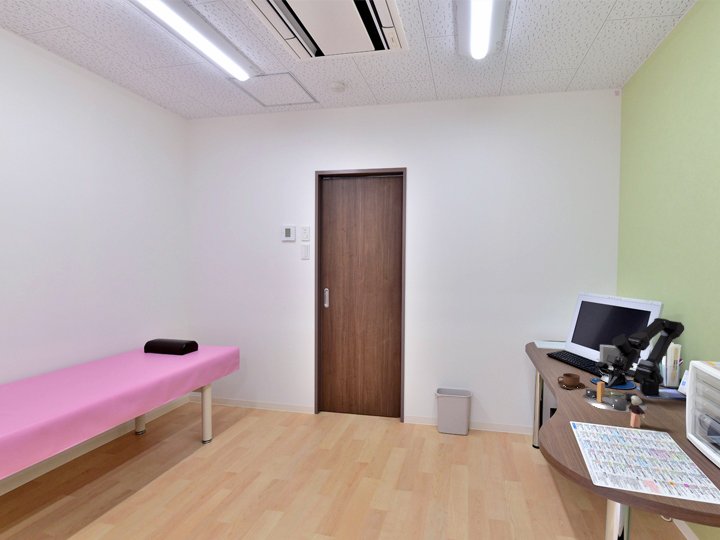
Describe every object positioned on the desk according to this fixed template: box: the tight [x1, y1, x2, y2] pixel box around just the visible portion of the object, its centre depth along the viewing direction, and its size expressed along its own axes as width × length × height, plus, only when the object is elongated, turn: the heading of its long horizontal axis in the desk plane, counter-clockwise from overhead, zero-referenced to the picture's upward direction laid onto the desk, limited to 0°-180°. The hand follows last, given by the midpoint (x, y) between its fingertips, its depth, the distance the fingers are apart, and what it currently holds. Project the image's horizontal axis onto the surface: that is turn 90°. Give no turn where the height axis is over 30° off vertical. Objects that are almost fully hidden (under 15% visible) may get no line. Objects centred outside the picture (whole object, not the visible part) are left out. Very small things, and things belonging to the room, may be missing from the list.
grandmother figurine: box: [627, 395, 647, 429], centre depth 150 cm, size 8×4×13 cm, turn 21°
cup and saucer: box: [557, 372, 586, 391], centre depth 197 cm, size 12×12×6 cm
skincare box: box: [598, 344, 621, 375], centre depth 216 cm, size 8×7×16 cm
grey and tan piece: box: [596, 381, 627, 410], centre depth 170 cm, size 12×5×8 cm, turn 21°
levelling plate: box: [582, 388, 648, 413], centre depth 175 cm, size 24×24×5 cm
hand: (608, 386), depth 176 cm, fingers closed
